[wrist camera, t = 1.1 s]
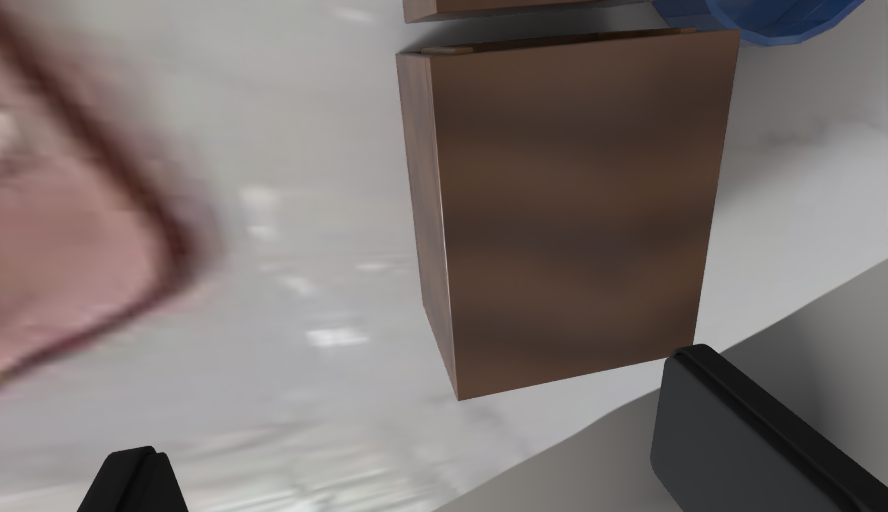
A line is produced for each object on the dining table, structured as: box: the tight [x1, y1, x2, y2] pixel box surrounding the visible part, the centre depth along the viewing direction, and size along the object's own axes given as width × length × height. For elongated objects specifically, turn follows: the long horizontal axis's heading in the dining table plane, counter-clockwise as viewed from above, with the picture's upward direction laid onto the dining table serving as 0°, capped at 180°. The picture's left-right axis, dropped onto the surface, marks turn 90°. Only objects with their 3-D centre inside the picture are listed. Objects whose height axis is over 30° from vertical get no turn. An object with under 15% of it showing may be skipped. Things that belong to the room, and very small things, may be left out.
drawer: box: [403, 0, 697, 55], centre depth 25 cm, size 21×12×9 cm, turn 5°
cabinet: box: [396, 29, 741, 401], centre depth 28 cm, size 17×14×11 cm
